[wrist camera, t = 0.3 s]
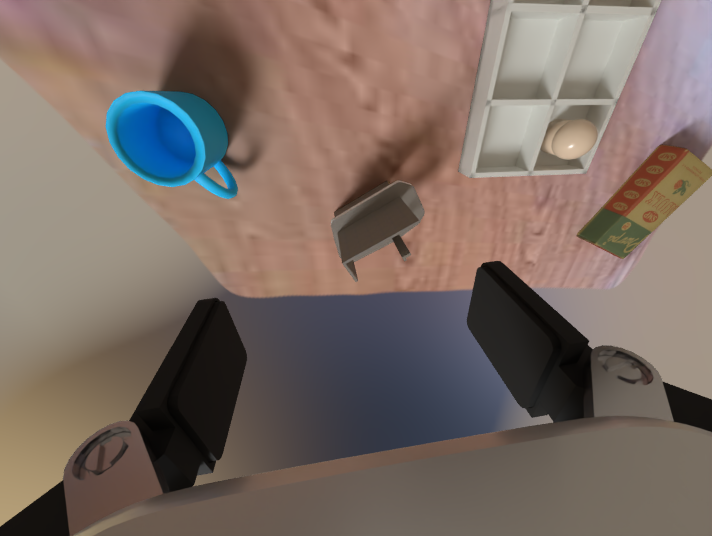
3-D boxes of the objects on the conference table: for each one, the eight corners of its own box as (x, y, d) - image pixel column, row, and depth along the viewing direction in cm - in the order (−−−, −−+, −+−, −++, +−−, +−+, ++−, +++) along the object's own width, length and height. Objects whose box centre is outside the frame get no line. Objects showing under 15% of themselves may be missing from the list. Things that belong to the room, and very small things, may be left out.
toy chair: (463, 216, 43) (522, 264, 31) (329, 289, 47) (334, 357, 35) (417, 85, 33) (478, 79, 21) (251, 193, 37) (219, 242, 25)
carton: (685, 166, 43) (719, 173, 40) (602, 249, 50) (624, 261, 47) (657, 143, 41) (690, 148, 37) (573, 234, 48) (595, 246, 44)
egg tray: (511, -106, 25) (536, -132, 22) (669, -94, 27) (712, -117, 24) (458, 171, 39) (469, 177, 36) (566, 167, 40) (585, 173, 38)
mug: (135, 123, 31) (85, 131, 24) (184, 73, 29) (144, 67, 23) (221, 204, 37) (199, 229, 30) (265, 167, 35) (253, 185, 29)
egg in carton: (544, 117, 36) (579, 120, 31) (576, 116, 36) (615, 120, 31) (532, 154, 38) (563, 163, 33) (562, 154, 39) (597, 162, 34)
